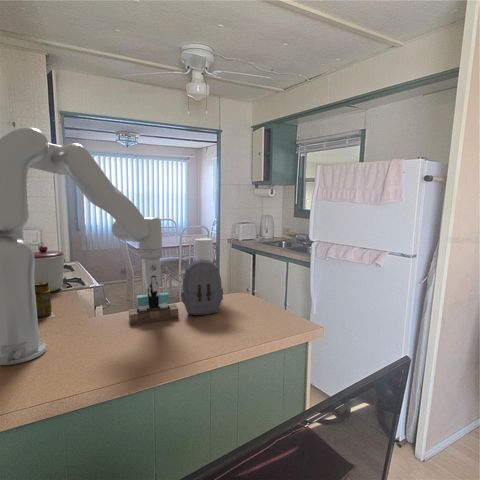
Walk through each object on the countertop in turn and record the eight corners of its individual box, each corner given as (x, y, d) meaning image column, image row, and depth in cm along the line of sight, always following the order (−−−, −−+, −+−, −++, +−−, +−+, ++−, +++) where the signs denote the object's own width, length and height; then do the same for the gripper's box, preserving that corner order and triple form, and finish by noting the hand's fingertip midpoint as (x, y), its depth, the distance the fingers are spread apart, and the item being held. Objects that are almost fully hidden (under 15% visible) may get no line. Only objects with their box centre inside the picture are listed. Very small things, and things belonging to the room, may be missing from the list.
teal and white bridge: (169, 316, 118) (168, 294, 118) (138, 320, 115) (137, 297, 114) (168, 314, 121) (167, 292, 120) (137, 318, 117) (136, 295, 117)
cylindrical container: (197, 301, 138) (196, 240, 135) (195, 297, 144) (193, 238, 142) (215, 300, 140) (213, 239, 137) (212, 295, 146) (210, 238, 144)
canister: (62, 283, 172) (59, 242, 170) (72, 290, 159) (69, 245, 156) (20, 290, 161) (17, 245, 159) (26, 297, 147) (22, 249, 145)
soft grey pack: (221, 308, 128) (220, 256, 126) (225, 315, 120) (224, 260, 118) (180, 312, 124) (178, 258, 122) (182, 320, 116) (181, 262, 114)
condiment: (51, 311, 128) (48, 280, 127) (56, 317, 122) (53, 284, 120) (28, 315, 124) (26, 283, 122) (32, 321, 117) (29, 287, 116)
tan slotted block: (178, 318, 118) (178, 308, 118) (130, 324, 112) (129, 314, 112) (175, 313, 124) (175, 303, 123) (129, 319, 118) (128, 309, 118)
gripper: (166, 256, 109) (168, 311, 111) (158, 250, 125) (160, 298, 127) (141, 258, 107) (144, 314, 109) (137, 251, 122) (139, 301, 124)
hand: (153, 305), depth 118 cm, fingers open, 3 cm apart
